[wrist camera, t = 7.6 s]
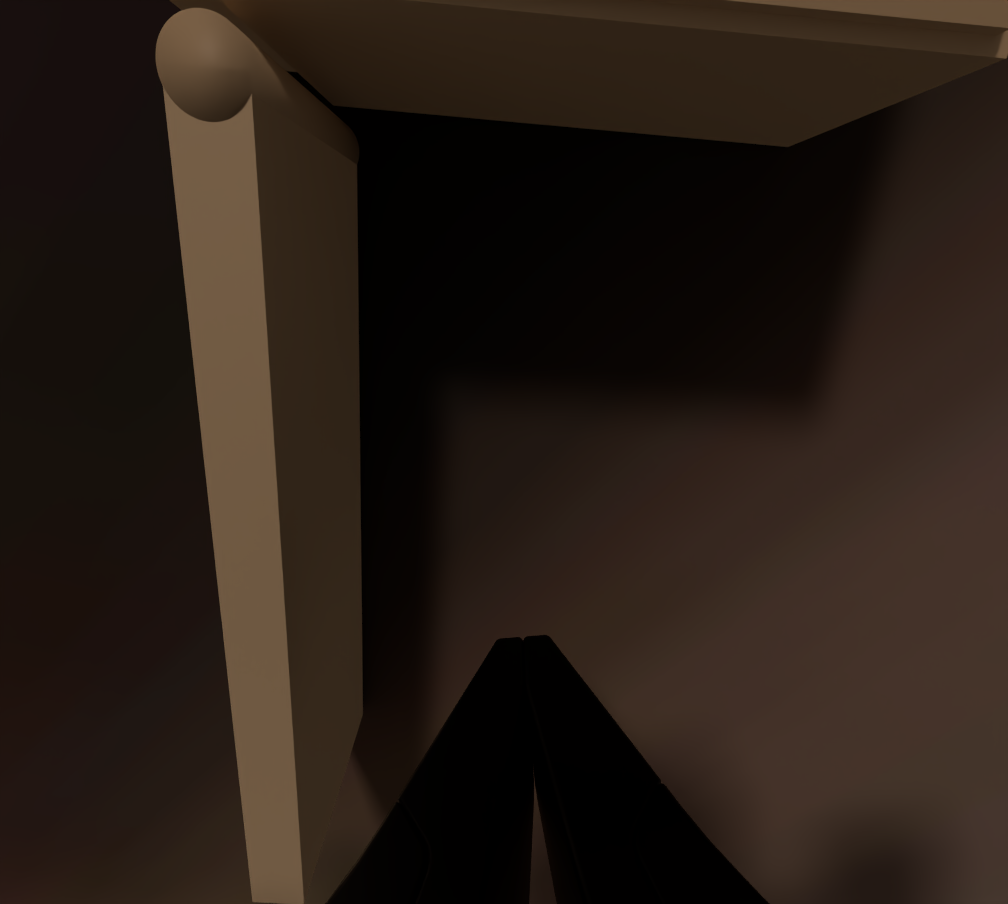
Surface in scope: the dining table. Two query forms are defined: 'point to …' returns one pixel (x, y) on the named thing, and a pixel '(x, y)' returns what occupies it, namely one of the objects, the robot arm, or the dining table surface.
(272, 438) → the flap
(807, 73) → the carton
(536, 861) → the dining table surface
